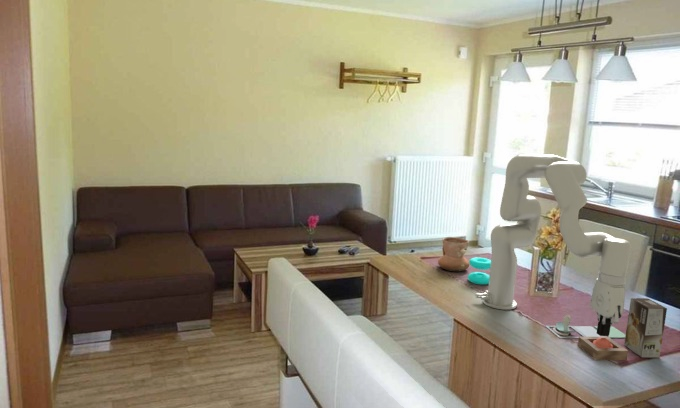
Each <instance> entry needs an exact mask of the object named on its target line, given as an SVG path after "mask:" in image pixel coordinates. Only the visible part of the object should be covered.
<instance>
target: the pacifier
mask: <svg viewBox="0 0 680 408" xmlns="http://www.w3.org/2000/svg"><path fill="white" fill-rule="evenodd" d="M571 322H572V318H571V316H570V315H568V314H566V315H564V317H563V321H559V322H556V324H555V326H556V327H552V330H553V331H554V332H555V333H556V334H558V335H559V336H562V337H568V336H569V335H570V333H576V331H575V330H573V329H572V330H570V327H568V326H570V325H569V324H571ZM563 326H564V327H563Z"/></svg>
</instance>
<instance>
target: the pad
mask: <svg viewBox="0 0 680 408" xmlns="http://www.w3.org/2000/svg"><path fill="white" fill-rule="evenodd" d="M597 327H598V325H597V326H596V325H594V326H593V328H595V329H596V330H597ZM625 336H626V333H624V332H622V331H620V330H619V329H618V328H616V327H615V326H612V325H611V327H610V333H609V336H606V337H609V338H611V339H625Z"/></svg>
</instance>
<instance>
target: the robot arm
mask: <svg viewBox="0 0 680 408" xmlns="http://www.w3.org/2000/svg"><path fill="white" fill-rule="evenodd" d="M505 169H506V170H505V181H504V182H505V184H504V188H503V193H502V197H501V198H502V199H501V203H500V207H499V208H500V209H499V215H500V217H501V218H502V220H504V221H506V222H509V223H500V224H497V225H496V226H494V228H492V230H491V233H490V246H491V256H490V258H491V259H490V260H491V267H490V269H489V276H490V277H489V284H488V288H487V289H485V292H483V293H480V292H475V294H474V296H475V299H480V300H481V301H482V302H483V304H484V305H486V306H487V307H489V308H492V309H496V310H502V311H505V310H507V311H509V310H514V309H516V308H517V307H518V303H517V302H516V300H515V299H514V296H515V286H516V276H517V270H518V269H517V268H518V267H517V266H518V259H517V255H516V251H515V249H522V248H527V247H530V246H532V245H533V244H534V242H535V240H536V237H537V232H538V228H539V223H540V219H541V215H542V205H541V203H540V201H539V199H538V198H536V197H535V196H533V195H528V193H529V191H530V190H529V189H530V185H529V181H528V179H546V182H547V184H548V186H549V188H550V190H551V192H552V195H553V196H554V199H555V200H556V202H557V205H558V206H559V208H560V215H559V222H558V223H559V225H558V226H559V232H560V235H561V237H562V239H563V241H564V243H565V245H566V246H567V249H568V250H569V252H570V253H571V254H572V255H573V256H575V257H577V258H591V257H600V260H599V261H600V263H599V269H598V274H597V277H596V279H595V282H594V285H593V289H592V292H591V297H590V303H589V306H590V308H591V309H592V310H593V311H595V313H596V314H597V315H596V316H597V317H596V319H597V321H598V322H597V326H598V327H597V329H596V330H597V334H599V335H600V336H606V337H607V336H609V333H610V327H611V326H612V325H613V324H619V319H621V318H622V317H623V313H624V308H625V294H626V292H625V291H626V289H625V286H626V281H627V275H628V269H629V262H630V258H631V250H632V244H631V242H630V241H629V240H626V239H624V238H621V237H619V238H618V237H615V236H612V235H610V234H608V233H607V232H603V231H594V232H593V231H591V232H584V231H583V230H584V229H582V227H581V224H580V222H579V217H578V215H579V211H580V209H582V208H583V207H585V206H586V204H587V203H588V202H587V201H588V199H587V197H586V195H585V193H584V191H583V188H582V187H581V185H583V184H584V183H585V182H586V180H587V171H586V168H585V167H584V165H582V163H580V162H578V161H575V160H572V159H568V158H565V157H563V156H562V157H561V156H559V155H555V154H550V153H549V154H547V153H546V154H545V153H541V154H540V153H525V154H518V155H516V156H514V157H512V158H511V159H510V160H509V161H508V163H507V166H506V168H505ZM510 222H511V223H510ZM513 222H514V223H513Z"/></svg>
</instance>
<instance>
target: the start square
mask: <svg viewBox="0 0 680 408" xmlns="http://www.w3.org/2000/svg"><path fill="white" fill-rule="evenodd" d="M554 327H556V325H545V328H546V329H548V330H549V332H551V333H553V334H554V336H556V337H558V339H577V340H578V339H579V337H586V336H584V335H583V334H582V333H580V332H579V331H578V330H576V329H575V328H574V327H573V326H572V325H569V326H568V327H569V328H571V329H572V330H573V331H575V333H577V334H579V335H580V336H561V335H559V334H557V333H555V332H554V331H553V328H554ZM563 327H564V326H563Z"/></svg>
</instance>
